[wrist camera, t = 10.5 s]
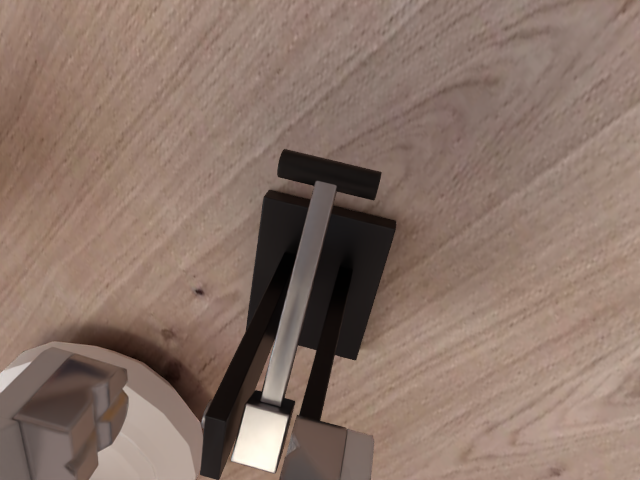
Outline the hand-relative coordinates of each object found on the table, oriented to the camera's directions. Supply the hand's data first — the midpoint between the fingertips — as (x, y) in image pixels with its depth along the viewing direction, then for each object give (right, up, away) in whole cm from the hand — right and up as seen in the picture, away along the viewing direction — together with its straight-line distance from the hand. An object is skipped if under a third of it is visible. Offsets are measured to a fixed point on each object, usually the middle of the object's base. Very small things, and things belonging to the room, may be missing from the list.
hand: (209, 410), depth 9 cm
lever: (+1, 0, +15) cm, 15 cm away
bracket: (+2, +1, +26) cm, 26 cm away
